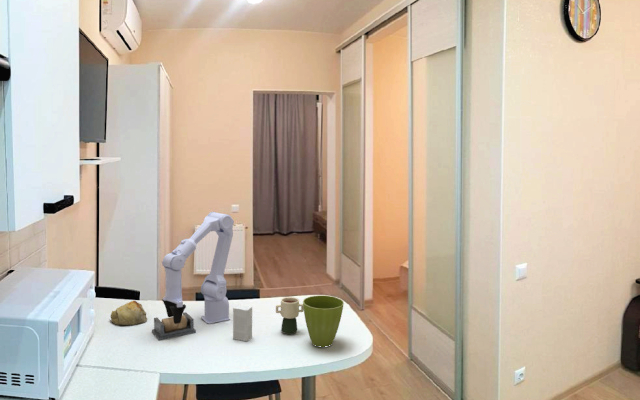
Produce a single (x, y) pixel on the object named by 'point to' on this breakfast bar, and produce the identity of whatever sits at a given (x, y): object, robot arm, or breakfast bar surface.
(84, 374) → the breakfast bar surface
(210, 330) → the breakfast bar surface
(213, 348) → the breakfast bar surface
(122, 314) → the pastry
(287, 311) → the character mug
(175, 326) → the cylinder
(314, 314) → the flower pot
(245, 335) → the skincare box
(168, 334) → the holder
